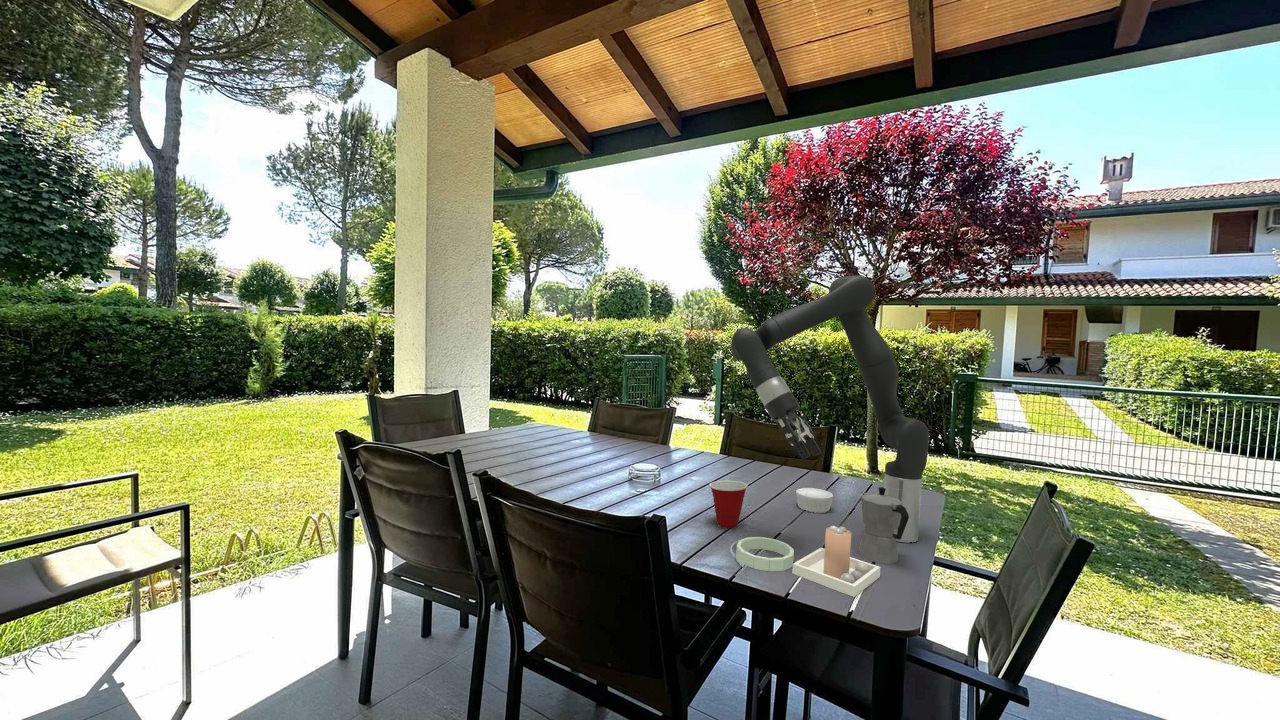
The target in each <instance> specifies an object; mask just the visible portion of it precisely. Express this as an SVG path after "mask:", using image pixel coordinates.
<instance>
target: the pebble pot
mask: <svg viewBox="0 0 1280 720" xmlns="http://www.w3.org/2000/svg"><path fill="white" fill-rule="evenodd" d="M824 539H825V540H824V549H825V553H824V571H823V573H824V574H827V575H829V576H832V577H835V578H838V579H840V577H841V575H842V574H844V573H849V569H850V557H851V549H852V531H850V530H848V529H847V528H846V527H844V526H836V525H830V526H829V527H826V528H825V537H824Z"/></svg>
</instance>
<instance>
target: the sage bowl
mask: <svg viewBox="0 0 1280 720" xmlns="http://www.w3.org/2000/svg"><path fill="white" fill-rule="evenodd" d="M750 550H765V551H770V552H775V553H778V554H780V555H782V557H765V556H759V555H755V554H752V553H750V552H751V551H750ZM794 551H795V550H794V548H793V547H791V546H790V545H789V544H788V543H786V542H784V541H781V540H778V539H775V538H769V537H763V536H749V537H745V538H743V539H740V540H738V542H737V544H736V553H735V554H736V555H735V561H736V562H737V563H738V564H739V566H741V567H742V568H744V567H745V566H746V567H749V568H752V569H753V570H760V571H764V572H784V571H786V570H788V569H791V568H793V563H794V556H795V555H794V553H795V552H794Z"/></svg>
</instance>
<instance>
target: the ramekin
mask: <svg viewBox="0 0 1280 720" xmlns="http://www.w3.org/2000/svg"><path fill="white" fill-rule="evenodd" d="M795 495H796V500H797V507H799V509H800V508H801V509H800V510H802V509H803V510H802V511H804V510H806V511H805V512H807V511H809V513H813V512H814V514H825V513H827V512H829V511H830V509H831V505H832V502H833V499H834V495H833V493H832V492H830V491H828V490H824V489H820V488H814V487H802V488H798V489H796V490H795Z"/></svg>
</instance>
